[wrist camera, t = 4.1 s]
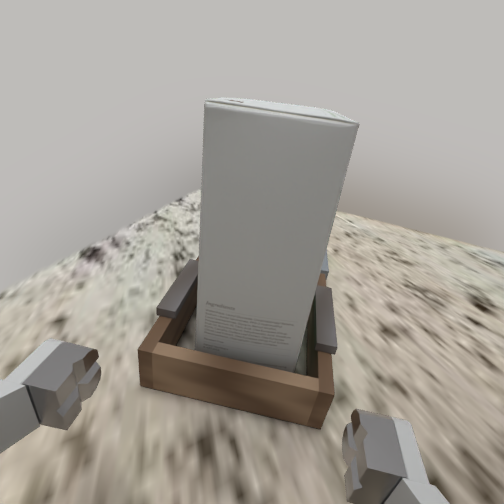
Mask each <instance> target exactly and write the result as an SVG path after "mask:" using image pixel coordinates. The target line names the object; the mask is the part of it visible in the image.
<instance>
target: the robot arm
mask: <svg viewBox="0 0 504 504" xmlns="http://www.w3.org/2000/svg"><path fill="white" fill-rule="evenodd" d="M98 358H99V356H98V351H97V350H96V349H92V348H88V347H84V346H80V345H76V344H72V343H68V342H65V341H60V340H56V339H52V338H50V339H48V340H46V341H44V342H43V343H42V344H41V345H40V346H39V347H38V348H37V349H36V350H35V351H34V352H32V353H31V354H30V355H29V356H28V357H27V358H26V359H25V360H24V361H23V362H22V363H21V364H20V365H19V366H18V367H17V368H16V369H15V370H14V371H13V372H12V373H11V374H10V375H9V376H7V377H6V378H5V379H4V380H2V379H0V453H2V452H3V451H5V450H6V449H7V448H9V447H10V446H12V445H13V444H15V443H16V442H18V441H19V440H21V439H22V438H24V437H25V436H26V435H28V434H29V433H31V432H32V431H34V430H35V429H37V428H38V427H40V425H45V426H49V427H54V428H58V429H63V430H68V428H69V427H70V426H71V424H72V423H73V421H74V420H75V418H76V417H77V416H78V414H79V413H80V411H81V410H82V402H83V401H84V400H86V399H88V398H89V397H91V396H92V394H93V393H94V391H95V390H96V388H97V386H98V383H99V381H100V378H101V367H100V366H99V365H98V363H97V362H96V360H97V359H98ZM351 421H352V422H351V423H349V424H347V425H346V427H345V430H344V433H343V439H342V454H343V459H344V461H345V462H346V464H347V466H348V469H347V471H346V473H345V475H344V477H345V488H346V498H347V502H349V503H353V504H449V502H448V501H447V500H446V499H445V497H444V496H443V495H442V494H441V492H440V491H439V490H438V489H437V487H436V486H434V485H430V484H429V481H428V477H427V474H426V471H425V467H424V464H423V461H422V458H421V454H420V451H419V448H418V445H417V441H416V438H415V435H414V431H413V428H412V425H411V424H410V422H409V421H407V420H403V419H398V418H394V417H389V416H387V415H383V414H378V413H373V412H369V411H364V410H359V409H355V410H354V411H353V413H352V415H351Z"/></svg>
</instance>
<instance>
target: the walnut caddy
mask: <svg viewBox="0 0 504 504" xmlns="http://www.w3.org/2000/svg"><path fill="white" fill-rule="evenodd" d="M198 264H199V256H198V258H197V259H196V260H192V259H190V260H189V261H188V263H187V264H186V266H185V267H184V268H183V270H182V271H181V273H180V274H179V276H178V277H177V279H176V280H175V282H174V283H173V284H172V286H171V287H170V289H169V290H168V292H167V293H166V295H165V296H164V297H163V299H162V300H161V302H160V303H159V305H158V306H157V315H159V318H158V319H157V321H156V322H155V324H154V325H153V327H152V329H151V330H150V332H149V333H148V335H147V336H146V338H145V339H144V341H143V342H142V344H141V345H140V347H139V348H138V360H139V374H140V386H144V387H148V388H152V389H156V390H160V391H164V392H169V393H173V394H177V395H181V396H185V397H189V398H193V399H198V400H202V401H206V402H210V403H214V404H218V405H222V406H227V407H231V408H235V409H239V410H243V411H247V412H251V413H256V414H260V415H264V416H268V417H272V418H276V419H280V420H285V421H289V422H293V423H297V424H301V425H305V426H309V427H314V428H318V429H321V427H322V424H323V422H324V419H325V417H326V415H327V412H328V410H329V407H330V405H331V402H332V400H333V398H334V382H333V369H332V356H331V354H335V352H336V350H337V338H336V328H335V319H334V309H333V299H332V290H331V288H329V287H326V279H325V274H322V273H320V276H319V279H318V283H317V287H316V291H315V295H314V299H313V302H312V306H311V310H310V314H309V317H308V322H307V376H305V375H300V374H296V373H292V372H287V371H283V370H278V369H274V368H270V367H265V366H261V365H257V364H252V363H248V362H243V361H239V360H235V359H230V358H226V357H222V356H217V355H213V354H208V353H204V352H200V351H195V350H191V349H186V348H182V347H178V346H176V344H177V342H178V340H179V338H180V336H181V334H182V332H183V330H184V329H185V327H186V325H187V323H188V321H189V319H190V317H191V315H192V313H193V311H194V309H195V307H196V305H197V290H198Z"/></svg>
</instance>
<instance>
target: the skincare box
mask: <svg viewBox="0 0 504 504" xmlns="http://www.w3.org/2000/svg"><path fill="white" fill-rule="evenodd" d="M358 128H359V123H358V122H356V121H354V120H352V119H350V118H348V117H345V116H343V115H341V114H339V113H337V112H335V111H333V110H328V109H322V108H315V107H308V106H300V105H293V104H285V103H277V102H268V101H260V100H251V99H241V98H214V99H206V100H205V104H204V133H203V161H202V186H201V212H200V239H199V264H198V290H197V316H196V340H195V351H200V352H204V353H208V354H213V355H217V356H222V357H226V358H230V359H235V360H239V361H243V362H248V363H252V364H257V365H261V366H265V367H270V368H274V369H278V370H283V371H287V372H292V373H294V372H295V368H296V364H297V360H298V357H299V353H300V349H301V345H302V341H303V337H304V333H305V329H306V325H307V321H308V317H309V314H310V310H311V306H312V302H313V299H314V295H315V291H316V287H317V283H318V279H319V276H320V272H321V268H322V264H323V260H324V257H325V253H326V249H327V245H328V241H329V237H330V233H331V230H332V226H333V222H334V218H335V215H336V211H337V207H338V203H339V199H340V195H341V191H342V187H343V183H344V179H345V175H346V171H347V167H348V164H349V160H350V157H351V153H352V149H353V146H354V142H355V138H356V134H357V130H358Z"/></svg>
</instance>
